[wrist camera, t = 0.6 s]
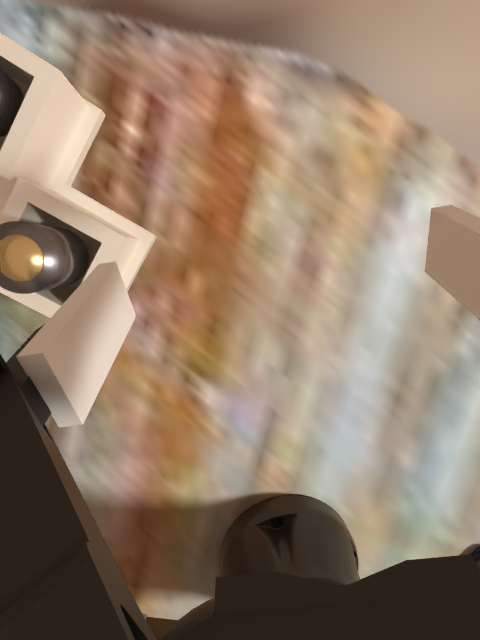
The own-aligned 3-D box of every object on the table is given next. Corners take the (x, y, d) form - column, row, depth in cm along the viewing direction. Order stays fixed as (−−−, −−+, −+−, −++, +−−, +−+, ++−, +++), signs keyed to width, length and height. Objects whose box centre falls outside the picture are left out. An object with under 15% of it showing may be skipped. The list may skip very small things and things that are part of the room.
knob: (73, 295, 28) (37, 306, 22) (20, 267, 28) (-32, 271, 22) (98, 246, 28) (69, 244, 22) (45, 216, 27) (-2, 206, 21)
